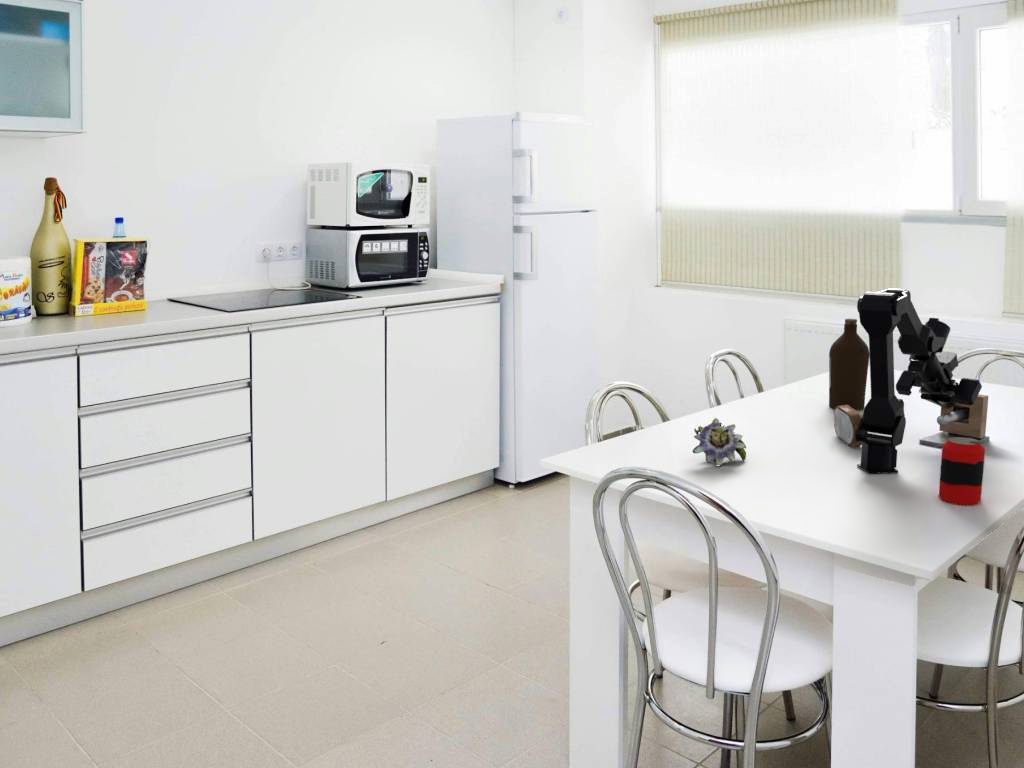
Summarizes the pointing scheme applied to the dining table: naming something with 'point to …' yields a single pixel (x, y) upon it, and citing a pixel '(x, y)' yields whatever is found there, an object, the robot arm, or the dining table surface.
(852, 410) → the tin
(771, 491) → the dining table surface
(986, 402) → the wooden block on rod
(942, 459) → the soda can
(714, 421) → the passion flower
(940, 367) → the robot arm
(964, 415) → the stand
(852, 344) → the olive oil
